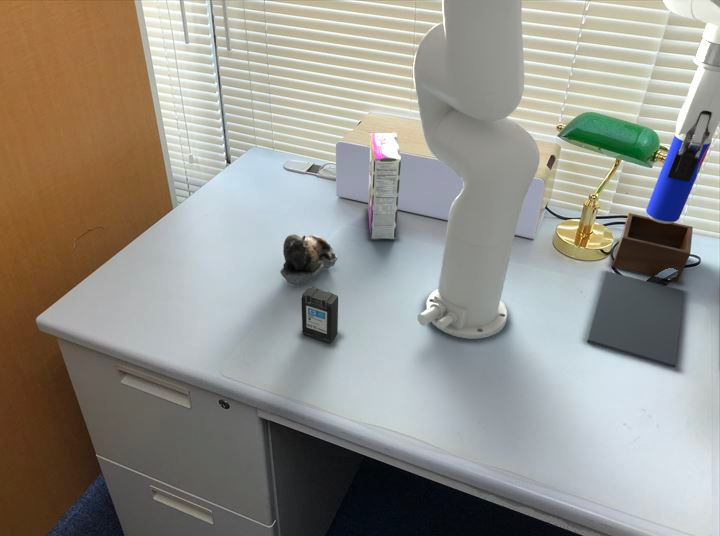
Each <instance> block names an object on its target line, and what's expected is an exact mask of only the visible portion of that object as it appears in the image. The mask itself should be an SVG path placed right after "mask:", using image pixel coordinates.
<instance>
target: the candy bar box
mask: <svg viewBox="0 0 720 536" xmlns="http://www.w3.org/2000/svg"><path fill="white" fill-rule="evenodd" d="M397 135H398V134H397V133H396V132H372V133H370V142H369V143H370V145H369V171H368V172H369V173H368V197H367V198H368V199H367V200H368V202H367V214H368V224H369V226H368V227H369V233H370V234H369V236H370V240H375V241H376V240H396V237H397V236H396V235H397V223H398V222H397V220H398V207H399V193H400V183H401V181H400V178H401V165H402V157H401V151H400V145H399V140H398V136H397Z"/></svg>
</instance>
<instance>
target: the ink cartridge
mask: <svg viewBox="0 0 720 536" xmlns="http://www.w3.org/2000/svg"><path fill="white" fill-rule="evenodd" d="M300 302H301V328H302V329H301V333H302V335H303V336H305V337H308V338H310V339H314V340H316V341H318V342H322V343H324V344H329V345H330V344H332V343H333V342H334V340H335V339H336V337H337V336H338V335H339V333H338V332H339V330H338V329H339V295H338V294H334V292H331V291H327V290H323V289H320V288H318V287H314V286H312V287H311V286H308V287H307V288H306V289H305V291H304V292H303V293H302V294H301V298H300Z"/></svg>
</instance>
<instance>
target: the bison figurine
mask: <svg viewBox="0 0 720 536" xmlns="http://www.w3.org/2000/svg"><path fill="white" fill-rule="evenodd" d="M282 249H283V250H282V254H283V257H284V263H283V267H282V268H281V270H280V273H279V274H280V275H281V277H283V278H284V279H285V281H286V282H287V284H288V285H290V286H293V287H300V286H301V287H302V286H305V285H308V284H309V283H311V282H314V281H316V280H317V279H318V278H319V276H320V274H321V273H322V272H324V271H325V270H328V269H330V268H331V267H334V266H335V264H336V262H337V261H338V260H339V256H338V255H337V254H336V252H334V250H333V248H332V246H331V244H330V243H328V242H327V241H326V240H325V239H324V237H322V236H319V235H315V234H310V235H307V236H306V235H300V234H295V233H294V234H289V235H288V236H286V237H285V240H284V241H283V248H282Z"/></svg>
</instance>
